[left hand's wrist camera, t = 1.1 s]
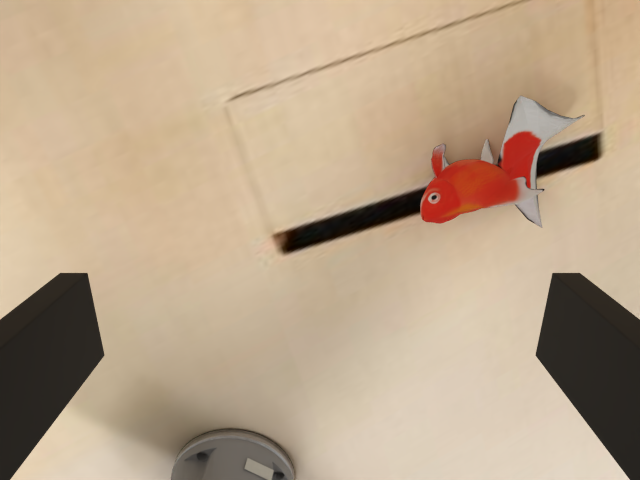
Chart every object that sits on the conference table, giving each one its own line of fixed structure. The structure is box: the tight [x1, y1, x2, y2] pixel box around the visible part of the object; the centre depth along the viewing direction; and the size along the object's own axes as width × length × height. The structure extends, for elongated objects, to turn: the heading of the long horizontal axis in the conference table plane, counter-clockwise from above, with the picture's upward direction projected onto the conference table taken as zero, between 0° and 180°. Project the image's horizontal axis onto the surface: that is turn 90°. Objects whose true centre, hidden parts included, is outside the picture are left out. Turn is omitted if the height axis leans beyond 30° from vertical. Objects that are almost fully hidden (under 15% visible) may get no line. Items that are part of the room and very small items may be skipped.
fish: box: [420, 96, 585, 227], centre depth 38 cm, size 11×16×10 cm
